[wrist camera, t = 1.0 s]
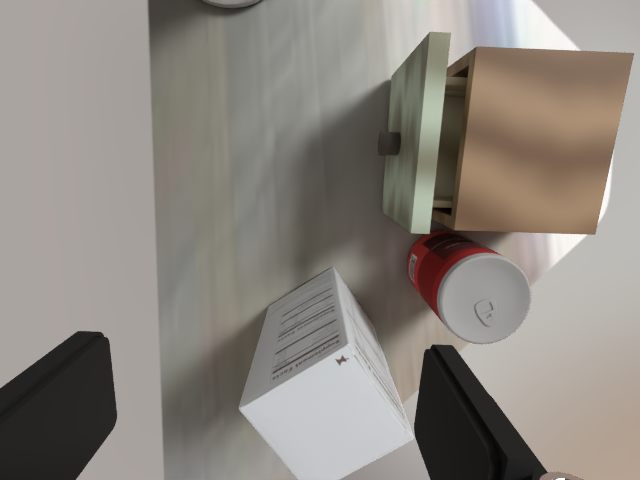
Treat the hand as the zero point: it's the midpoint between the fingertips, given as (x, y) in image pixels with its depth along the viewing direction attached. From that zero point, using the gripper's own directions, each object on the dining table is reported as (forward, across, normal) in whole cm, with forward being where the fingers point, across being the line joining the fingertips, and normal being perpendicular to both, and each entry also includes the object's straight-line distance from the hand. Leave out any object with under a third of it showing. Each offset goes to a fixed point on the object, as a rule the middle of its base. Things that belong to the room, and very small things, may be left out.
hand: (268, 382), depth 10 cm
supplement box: (+28, -3, +12) cm, 30 cm away
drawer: (+28, -14, -8) cm, 32 cm away
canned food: (+28, -16, +4) cm, 33 cm away
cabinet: (+28, -19, -8) cm, 35 cm away
